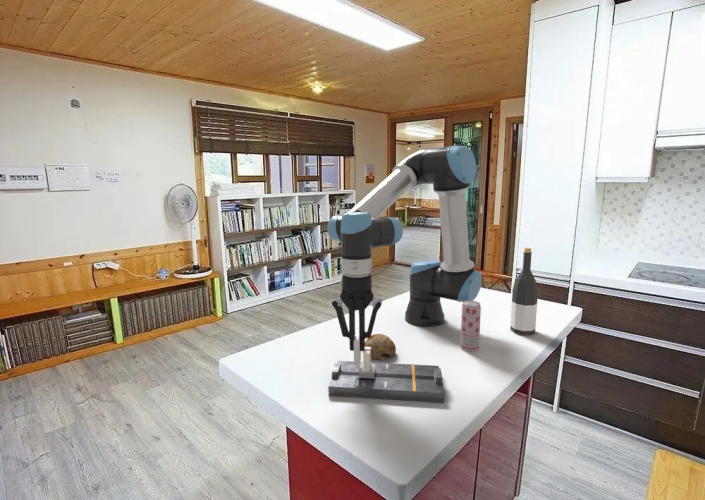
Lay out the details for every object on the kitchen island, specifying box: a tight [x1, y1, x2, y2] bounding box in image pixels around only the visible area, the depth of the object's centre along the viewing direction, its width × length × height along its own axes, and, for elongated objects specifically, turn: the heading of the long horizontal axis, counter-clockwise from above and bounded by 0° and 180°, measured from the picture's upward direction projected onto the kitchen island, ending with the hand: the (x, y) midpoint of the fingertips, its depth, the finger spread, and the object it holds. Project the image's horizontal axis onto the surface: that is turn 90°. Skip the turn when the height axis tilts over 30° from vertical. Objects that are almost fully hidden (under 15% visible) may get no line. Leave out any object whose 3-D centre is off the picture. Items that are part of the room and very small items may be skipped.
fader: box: [359, 347, 376, 378], centre depth 97 cm, size 4×5×7 cm
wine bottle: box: [509, 247, 539, 336], centre depth 130 cm, size 8×8×30 cm
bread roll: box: [362, 333, 397, 361], centre depth 115 cm, size 10×10×8 cm
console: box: [327, 360, 445, 404], centre depth 97 cm, size 28×14×4 cm, turn 82°
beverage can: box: [459, 300, 482, 353], centre depth 118 cm, size 6×6×15 cm
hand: (357, 361), depth 97 cm, fingers closed
